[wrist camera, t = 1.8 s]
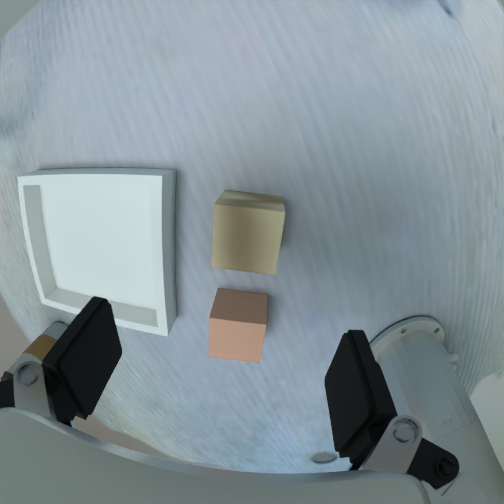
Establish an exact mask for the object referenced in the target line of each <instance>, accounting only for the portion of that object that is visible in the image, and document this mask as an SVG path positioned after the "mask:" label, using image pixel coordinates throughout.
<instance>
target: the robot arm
mask: <svg viewBox="0 0 504 504" xmlns="http://www.w3.org/2000/svg"><path fill="white" fill-rule="evenodd" d="M444 342H445V333H444V330H443V328H442V327H441V325H440V324H439V323H438V321H436V320H435V319H433V318H430V317H414V318H410V319H407V320H404V321H401V322H399V323H397V324H395V325H393V326H391V327H390V328H388V329H387V330H385V331H384V332H383V333H381V334H380V335H379V336H378V337H377V338H376V339H375V340H374V341H373V342H372V343H371V344H370V345H369V342H368V340H367V337H366V335H365V332H364V331H363V330H349V331H348V332H347V333H344V334H343V336H342V338H341V341H340V343H339V346H338V348H337V351H336V353H335V355H334V358H333V360H332V362H331V365H330V367H329V369H328V372H327V374H326V376H325V390H326V395H327V401H328V407H329V414H330V420H331V426H332V433H333V440H334V447H335V450H336V452H339V455H340V458H344V457H349V458H350V463H351V465H350V466H349V467H348V469H347V470H346V471H340V472H327V473H300V474H275V473H253V472H240V471H231V470H222V469H214V468H208V467H201V466H195V465H190V464H185V463H179V462H175V461H171V460H166V459H162V458H158V457H154V456H150V455H147V454H143V453H140V452H136V451H133V450H130V449H127V448H123V447H120V446H118V445H115V444H112V443H109V442H106V441H103V440H101V439H98V438H96V437H93V436H91V435H88V434H86V433H83V432H81V431H78V430H76V428H75V425H74V421H73V419H74V417H75V416H77V417H80V418H82V419H84V420H86V418H87V416H88V415H91V414H92V413H93V411H94V409H95V407H96V405H97V402H98V400H99V398H100V396H101V394H102V392H103V390H104V388H105V386H106V384H107V382H108V380H109V379H110V377H111V375H112V373H113V371H114V369H115V367H116V365H117V363H118V361H119V359H120V358H121V355H122V347H121V344H120V340H119V336H118V332H117V328H116V324H115V319H114V315H113V310H112V306H111V304H110V303H109V302H108V300H107V299H106V298H102V297H97V296H93V297H92V298H91V299H90V301H89V302H88V303H87V304H86V305H85V307H84V308H83V309H82V310H81V311H80V313H79V314H78V315H77V316H76V317H75V319H74V320H73V321H72V322H71V324H70V325H69V326H68V327H67V329H66V330H65V331H64V332H63V334H62V335H61V336H60V337H59V339H58V340H57V341H56V343H55V344H54V345H53V347H52V348H51V349H50V351H49V352H48V353H47V355H46V356H45V357H44V359H43V360H42V361H43V363H42V364H41V365H40V364H39V363H37V362H34V361H26V362H24V363H22V364H20V365H19V366H18V367H17V368H16V370H15V372H14V376H13V378H12V379H9V380H5V381H1V382H0V504H504V471H503V469H502V467H501V465H500V463H499V461H498V459H497V457H496V455H495V452H494V450H493V448H492V446H491V443H490V441H489V439H488V437H487V435H486V432H485V430H484V428H483V426H482V424H481V421H480V419H479V417H478V415H477V413H476V411H475V409H474V407H473V405H472V403H471V400H470V399H469V397H468V395H467V393H466V391H465V389H464V387H463V385H462V383H461V381H460V380H459V378H458V376H457V374H456V371H457V365H456V363H455V362H456V361H458V359H459V354H458V352H453V353H448V352H447V350H446V349H445V347H444ZM450 362H452V363H450Z"/></svg>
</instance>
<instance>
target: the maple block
mask: <svg viewBox="0 0 504 504" xmlns="http://www.w3.org/2000/svg"><path fill="white" fill-rule="evenodd" d="M285 213H286V212H285V208H284V203H283V199H282V197H280V196H273V195H265V194H256V193H247V192H238V191H229V190H225V191H224V192H223V193H222V195H221V196H220V197H219V199H218V200H217V201H216V203H215V204H214V220H213V237H212V256H211V267H214V268H222V269H230V270H238V271H246V272H254V273H263V274H271V275H276V269H277V263H278V257H279V251H280V245H281V239H282V232H283V226H284V219H285Z"/></svg>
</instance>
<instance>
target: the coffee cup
mask: <svg viewBox="0 0 504 504" xmlns="http://www.w3.org/2000/svg"><path fill="white" fill-rule="evenodd" d="M67 327H68V325H66V324H64V323H61V322H57V323H53V324H52V325H51V326H49V327H48V328H47V329H46V330H45V331H44V332H43V333H42V334H41V335H40V336H39V337H38V338H37V339H36V340H35V341H34V342H33V343H32V344H31V345H30V346H29V347H28V348H27V349H26V350H25V351H24V352H23V354H22V355H21V356H20V357H19V359H18V360H17V361H16V362H15V363H14V364H13V365H12V366H11V367H10V368H9V370H8V371H5V372H4V374H3V377H1V381H5V380H9V379H12V378H13V376H14V372H15V370H16V368H17V367H18V366H19V365H20V364H22V363H24V362H26V361H34V362H37V363H39V364H40V365H41V364H42V363H43V361H42V360H43V359H44V357H45V356H46V355H47V353H48V352H49V351H50V349H51V348H52V347H53V345H54V344H55V343H56V341H57V340H58V339H59V337H60V336H61V335H62V334H63V332H64V331H65V330H66V329H67Z"/></svg>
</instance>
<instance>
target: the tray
mask: <svg viewBox="0 0 504 504" xmlns="http://www.w3.org/2000/svg"><path fill="white" fill-rule="evenodd" d="M175 188H176V170H174V169H153V168H63V169H43V170H36V171H32V172H29V173H26V174H23V175H20V176H18V189H19V199H20V208H21V215H22V222H23V228H24V234H25V239H26V244H27V249H28V254H29V258H30V262H31V266H32V270H33V274H34V278H35V282H36V285H37V289H38V292H39V295H40V298H41V302H42V304H45V305H48V306H51V307H54V308H57V309H61V310H64V311H67V312H70V313H74V314H77V315H78V314H79V313H80V311H81V310H82V309H83V308H84V307H85V305H86V304H87V303H88V302H89V301H90V299H91V298H92V297H93V296H97V297H102V298H106V299H107V300H108V302H109V303H110V304H111V306H112V310H113V315H114V319H115V324H116V325H118V326H122V327H126V328H131V329H135V330H140V331H144V332H149V333H154V334H158V335H163V336H169V333H170V331H171V329H172V327H173V324H174V322H175V320H176V318H177V306H176V283H175Z"/></svg>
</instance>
